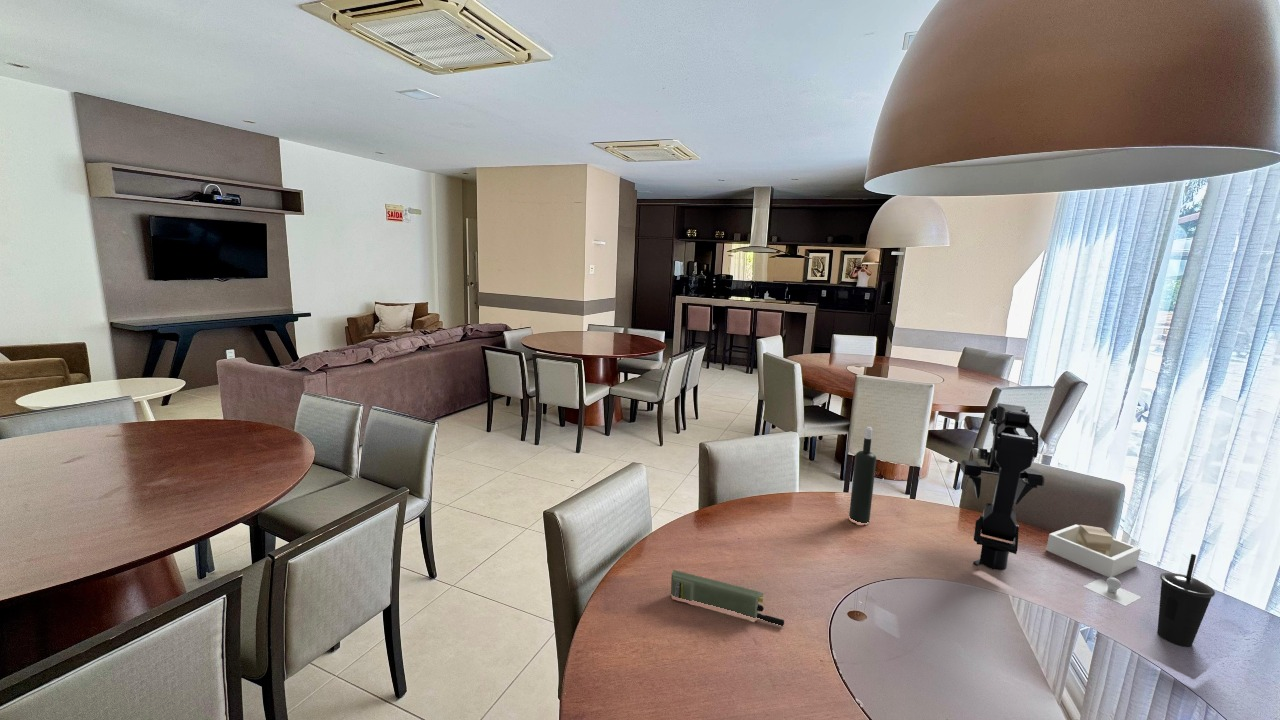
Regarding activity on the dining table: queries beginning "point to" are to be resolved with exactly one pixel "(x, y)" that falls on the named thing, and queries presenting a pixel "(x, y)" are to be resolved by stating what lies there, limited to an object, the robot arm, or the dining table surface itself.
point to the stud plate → (1112, 591)
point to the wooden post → (1094, 539)
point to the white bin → (1093, 553)
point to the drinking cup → (1182, 606)
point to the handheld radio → (719, 595)
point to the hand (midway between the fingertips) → (996, 500)
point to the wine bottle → (863, 481)
